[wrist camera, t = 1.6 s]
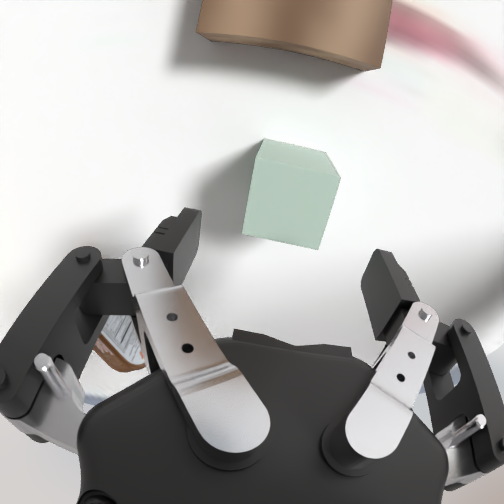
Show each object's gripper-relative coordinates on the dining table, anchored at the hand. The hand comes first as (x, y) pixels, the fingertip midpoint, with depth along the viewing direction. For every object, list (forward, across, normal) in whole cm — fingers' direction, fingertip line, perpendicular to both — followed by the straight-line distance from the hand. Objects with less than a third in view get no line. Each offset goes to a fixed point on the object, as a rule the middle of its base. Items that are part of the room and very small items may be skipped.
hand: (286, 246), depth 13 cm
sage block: (+12, 0, 0) cm, 12 cm away
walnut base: (+12, +2, -19) cm, 22 cm away
